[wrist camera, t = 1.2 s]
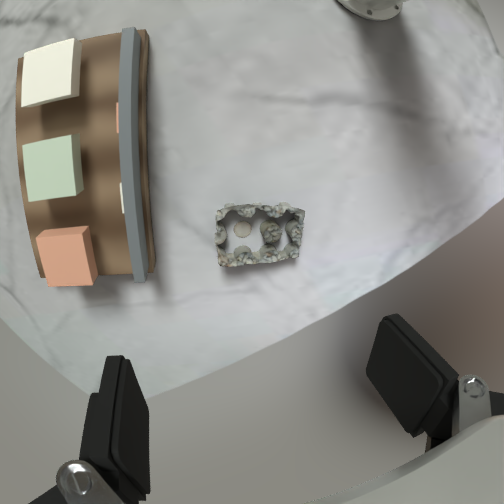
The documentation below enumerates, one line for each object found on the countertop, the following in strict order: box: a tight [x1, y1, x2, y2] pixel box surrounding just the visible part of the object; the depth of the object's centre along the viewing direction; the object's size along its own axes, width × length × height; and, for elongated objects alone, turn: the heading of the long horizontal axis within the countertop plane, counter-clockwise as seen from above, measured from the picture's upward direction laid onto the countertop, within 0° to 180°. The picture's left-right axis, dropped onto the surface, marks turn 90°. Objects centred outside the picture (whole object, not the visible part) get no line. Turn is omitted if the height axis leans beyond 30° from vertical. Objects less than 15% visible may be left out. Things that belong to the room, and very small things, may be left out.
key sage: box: [22, 133, 84, 202], centre depth 24 cm, size 6×6×2 cm
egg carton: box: [214, 202, 305, 267], centre depth 36 cm, size 11×8×4 cm
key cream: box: [21, 38, 82, 107], centre depth 20 cm, size 6×6×2 cm
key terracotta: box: [36, 226, 98, 287], centre depth 28 cm, size 6×6×2 cm
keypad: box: [16, 27, 156, 283], centre depth 27 cm, size 28×16×7 cm, turn 179°
